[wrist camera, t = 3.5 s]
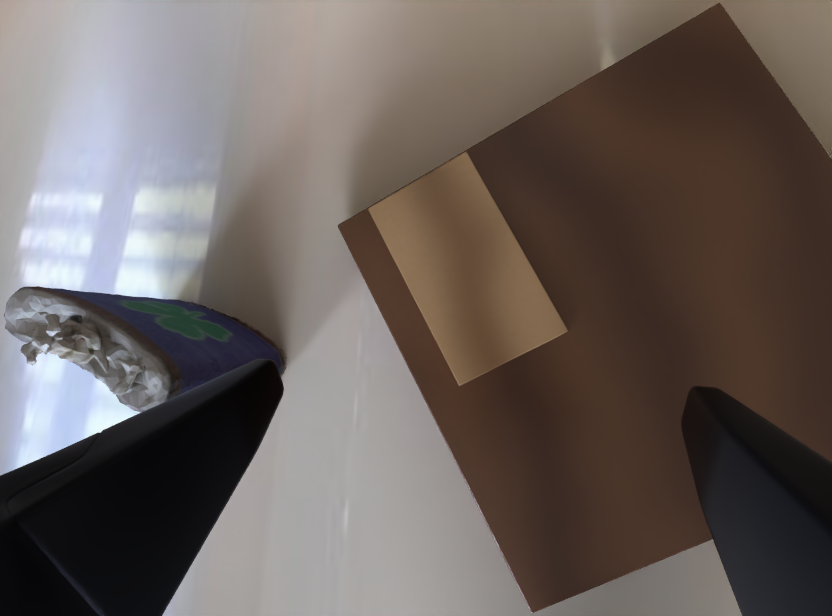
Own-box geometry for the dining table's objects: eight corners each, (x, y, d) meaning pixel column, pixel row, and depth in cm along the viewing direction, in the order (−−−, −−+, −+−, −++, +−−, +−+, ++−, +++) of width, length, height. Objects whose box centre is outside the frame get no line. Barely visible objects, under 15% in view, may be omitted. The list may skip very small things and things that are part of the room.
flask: (158, 328, 26) (-67, 325, 15) (176, 287, 26) (-37, 255, 15) (277, 393, 24) (116, 438, 14) (297, 348, 24) (151, 360, 14)
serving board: (527, 590, 21) (532, 618, 19) (347, 233, 24) (334, 223, 22) (964, 407, 18) (1025, 416, 16) (700, 28, 21) (723, -4, 19)
